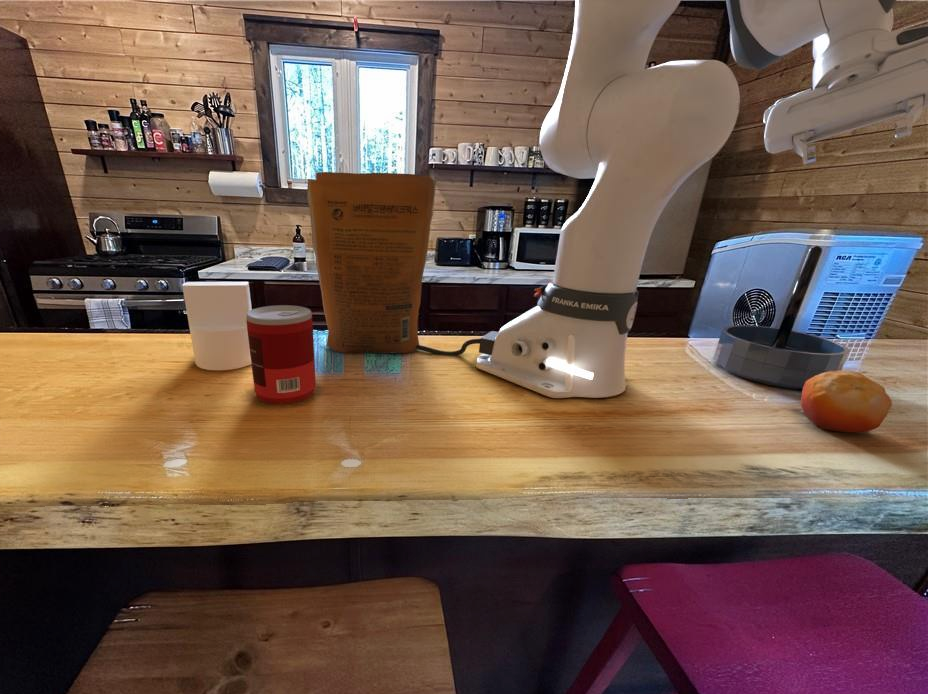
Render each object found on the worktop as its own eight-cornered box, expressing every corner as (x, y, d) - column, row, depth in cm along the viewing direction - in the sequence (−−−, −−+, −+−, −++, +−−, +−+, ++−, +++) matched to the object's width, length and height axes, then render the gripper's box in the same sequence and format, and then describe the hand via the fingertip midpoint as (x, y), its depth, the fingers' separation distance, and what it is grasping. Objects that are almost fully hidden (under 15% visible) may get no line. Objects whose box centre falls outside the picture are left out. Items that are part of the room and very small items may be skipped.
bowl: (705, 372, 72) (716, 337, 69) (718, 350, 83) (728, 320, 81) (836, 402, 62) (853, 362, 60) (830, 372, 74) (844, 338, 72)
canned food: (327, 387, 60) (324, 309, 56) (289, 410, 53) (281, 323, 49) (283, 377, 63) (277, 302, 59) (242, 397, 56) (231, 314, 52)
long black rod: (750, 368, 72) (795, 245, 65) (752, 360, 76) (795, 243, 68) (790, 376, 69) (841, 248, 62) (790, 368, 73) (839, 246, 65)
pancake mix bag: (429, 357, 73) (439, 174, 62) (315, 355, 72) (304, 168, 61) (426, 345, 80) (434, 176, 69) (321, 343, 78) (312, 171, 67)
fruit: (848, 402, 59) (891, 364, 52) (864, 453, 54) (913, 418, 48) (778, 392, 61) (810, 355, 55) (787, 440, 57) (824, 406, 50)
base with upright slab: (189, 371, 64) (174, 289, 59) (202, 352, 72) (190, 278, 67) (254, 368, 66) (245, 289, 61) (259, 350, 74) (251, 278, 69)
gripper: (761, 91, 71) (758, 160, 67) (962, 14, 56) (971, 96, 53) (766, 120, 75) (763, 186, 71) (954, 55, 60) (963, 134, 57)
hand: (853, 148), depth 62 cm, fingers open, 8 cm apart
